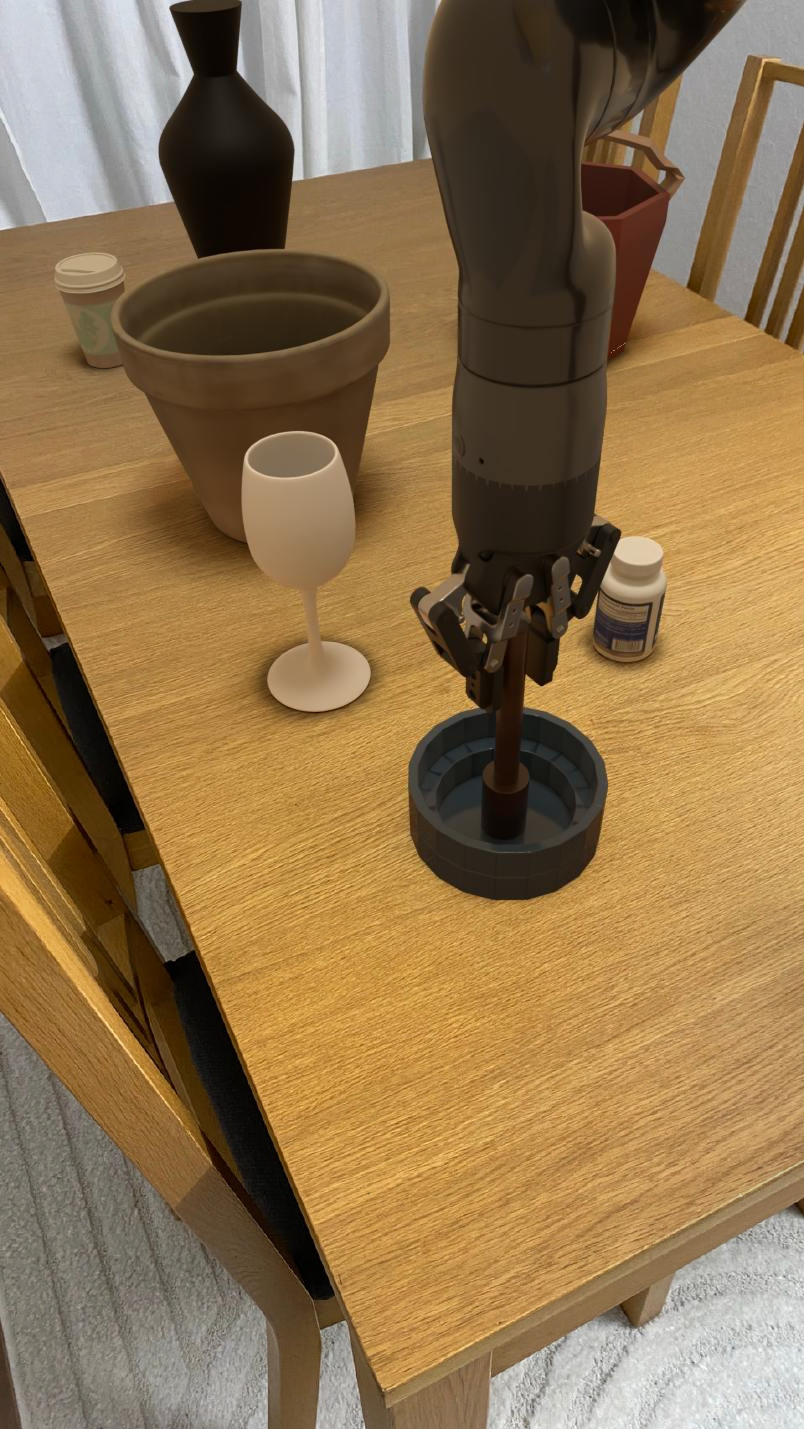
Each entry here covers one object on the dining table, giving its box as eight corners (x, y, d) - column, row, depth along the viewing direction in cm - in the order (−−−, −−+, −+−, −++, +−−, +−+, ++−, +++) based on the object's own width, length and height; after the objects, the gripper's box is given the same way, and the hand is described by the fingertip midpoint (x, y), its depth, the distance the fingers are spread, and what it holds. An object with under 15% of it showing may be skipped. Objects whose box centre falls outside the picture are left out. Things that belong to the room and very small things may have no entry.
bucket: (675, 329, 130) (709, 111, 112) (619, 403, 116) (648, 168, 98) (502, 300, 138) (509, 94, 121) (431, 366, 125) (427, 143, 107)
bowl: (638, 844, 70) (649, 788, 66) (489, 942, 65) (492, 887, 61) (515, 736, 78) (519, 679, 74) (374, 815, 73) (369, 759, 69)
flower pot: (139, 474, 108) (88, 270, 93) (352, 427, 114) (337, 228, 99) (188, 604, 92) (135, 381, 76) (435, 541, 97) (432, 322, 82)
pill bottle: (619, 615, 88) (634, 522, 81) (668, 644, 85) (686, 550, 78) (578, 642, 86) (589, 548, 79) (626, 673, 83) (642, 578, 76)
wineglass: (390, 666, 84) (378, 443, 70) (329, 727, 79) (301, 501, 65) (310, 631, 88) (282, 412, 73) (246, 687, 83) (202, 465, 68)
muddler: (535, 825, 71) (553, 630, 58) (500, 847, 69) (510, 652, 57) (506, 798, 72) (517, 603, 60) (471, 818, 71) (476, 623, 59)
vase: (200, 284, 146) (149, -6, 122) (315, 281, 145) (288, -11, 121) (176, 334, 134) (114, 23, 110) (302, 331, 133) (269, 17, 109)
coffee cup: (64, 358, 130) (37, 264, 121) (122, 338, 134) (99, 245, 125) (97, 379, 125) (71, 283, 117) (155, 358, 129) (134, 262, 121)
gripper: (460, 522, 45) (458, 777, 57) (681, 425, 50) (637, 676, 62) (367, 455, 49) (384, 705, 61) (580, 373, 55) (557, 617, 67)
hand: (511, 689), depth 62 cm, fingers open, 3 cm apart
